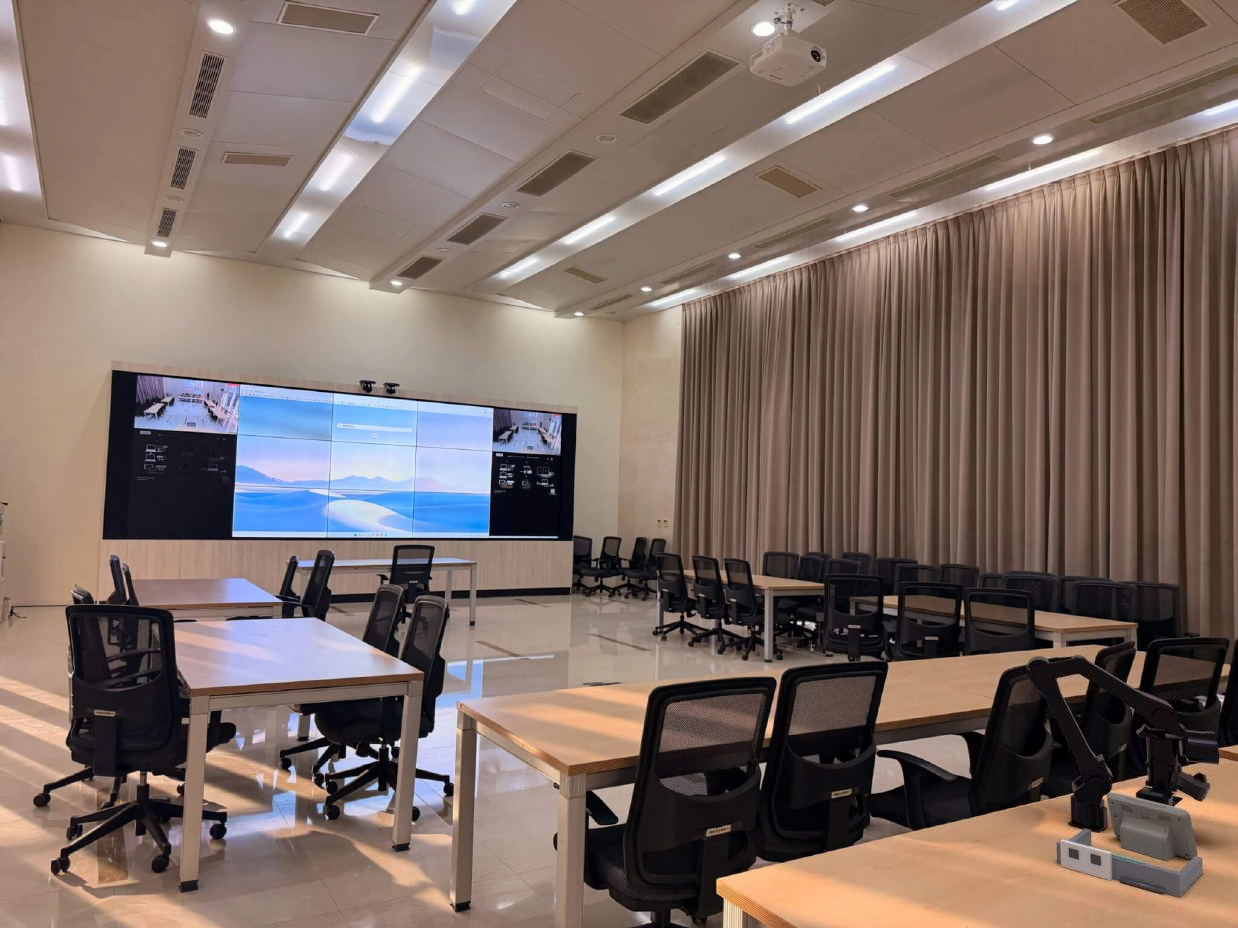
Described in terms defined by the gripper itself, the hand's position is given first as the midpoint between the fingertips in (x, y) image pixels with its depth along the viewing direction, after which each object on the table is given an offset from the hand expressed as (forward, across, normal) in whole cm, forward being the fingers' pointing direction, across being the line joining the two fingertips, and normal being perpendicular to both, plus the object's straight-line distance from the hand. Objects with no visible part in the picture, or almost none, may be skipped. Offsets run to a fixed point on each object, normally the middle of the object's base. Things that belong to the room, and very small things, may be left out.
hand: (1164, 830), depth 186 cm
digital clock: (+2, -11, 0) cm, 11 cm away
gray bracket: (+1, -26, 0) cm, 26 cm away
